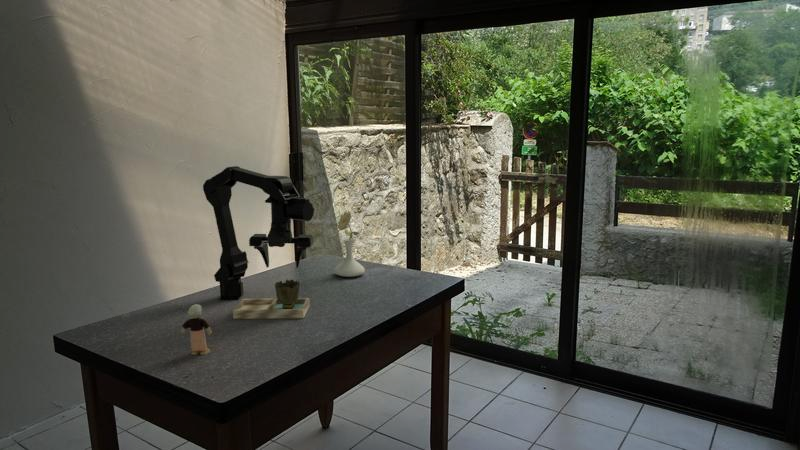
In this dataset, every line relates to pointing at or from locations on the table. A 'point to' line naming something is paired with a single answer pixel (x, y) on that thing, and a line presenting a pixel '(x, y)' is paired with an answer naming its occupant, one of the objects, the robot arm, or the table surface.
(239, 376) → the table surface
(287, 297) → the cup
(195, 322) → the grandmother figurine
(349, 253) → the flower in vase
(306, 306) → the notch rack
